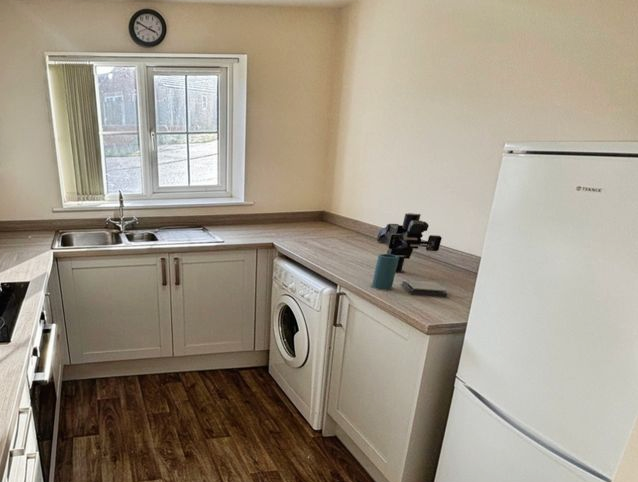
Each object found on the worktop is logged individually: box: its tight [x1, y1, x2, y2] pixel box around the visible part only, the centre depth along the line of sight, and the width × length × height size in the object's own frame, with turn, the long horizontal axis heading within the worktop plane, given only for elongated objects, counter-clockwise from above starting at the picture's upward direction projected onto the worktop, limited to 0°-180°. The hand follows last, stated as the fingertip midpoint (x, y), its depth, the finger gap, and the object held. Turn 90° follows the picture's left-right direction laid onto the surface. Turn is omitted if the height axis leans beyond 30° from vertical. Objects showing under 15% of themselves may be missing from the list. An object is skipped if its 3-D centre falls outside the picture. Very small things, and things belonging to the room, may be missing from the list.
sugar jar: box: [371, 253, 399, 291], centre depth 183 cm, size 7×7×13 cm
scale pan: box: [406, 280, 447, 293], centre depth 180 cm, size 11×11×1 cm
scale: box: [401, 280, 448, 298], centre depth 181 cm, size 14×12×2 cm
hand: (420, 246), depth 182 cm, fingers open, 9 cm apart
